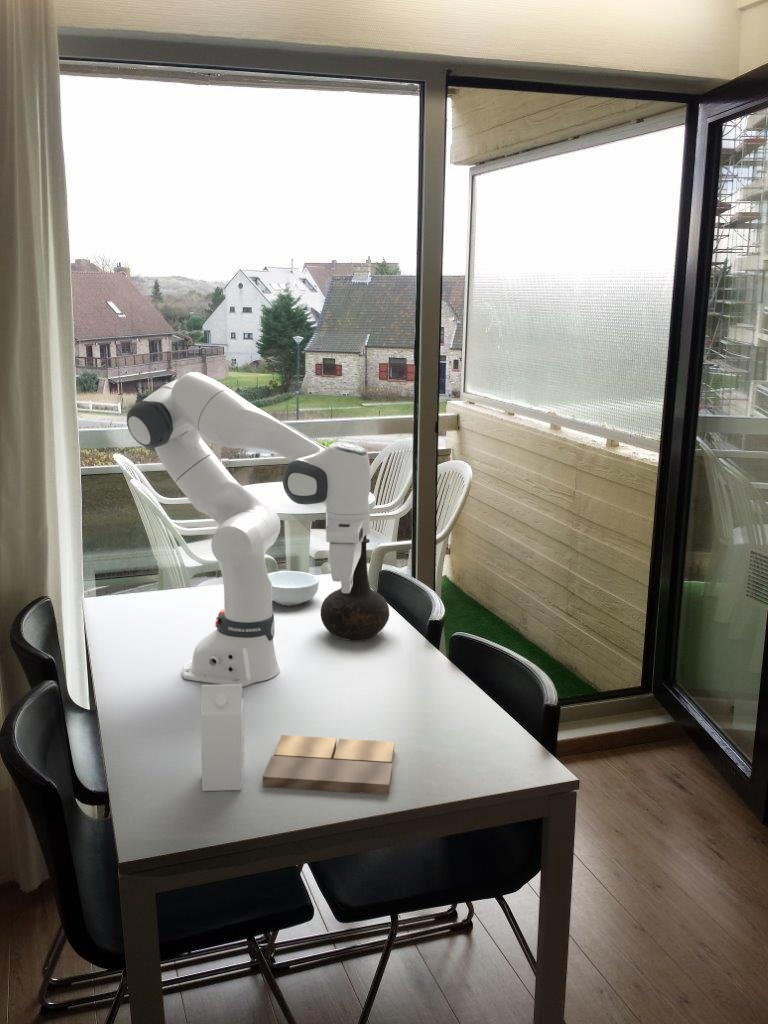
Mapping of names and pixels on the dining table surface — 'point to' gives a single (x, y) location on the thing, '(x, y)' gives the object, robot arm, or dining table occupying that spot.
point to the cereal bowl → (293, 587)
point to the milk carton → (222, 737)
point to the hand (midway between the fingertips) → (346, 590)
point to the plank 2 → (364, 750)
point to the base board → (328, 775)
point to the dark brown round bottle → (356, 607)
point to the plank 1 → (306, 747)
